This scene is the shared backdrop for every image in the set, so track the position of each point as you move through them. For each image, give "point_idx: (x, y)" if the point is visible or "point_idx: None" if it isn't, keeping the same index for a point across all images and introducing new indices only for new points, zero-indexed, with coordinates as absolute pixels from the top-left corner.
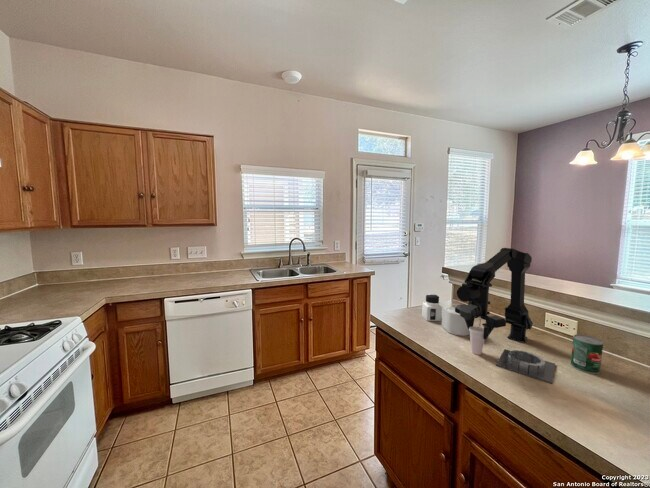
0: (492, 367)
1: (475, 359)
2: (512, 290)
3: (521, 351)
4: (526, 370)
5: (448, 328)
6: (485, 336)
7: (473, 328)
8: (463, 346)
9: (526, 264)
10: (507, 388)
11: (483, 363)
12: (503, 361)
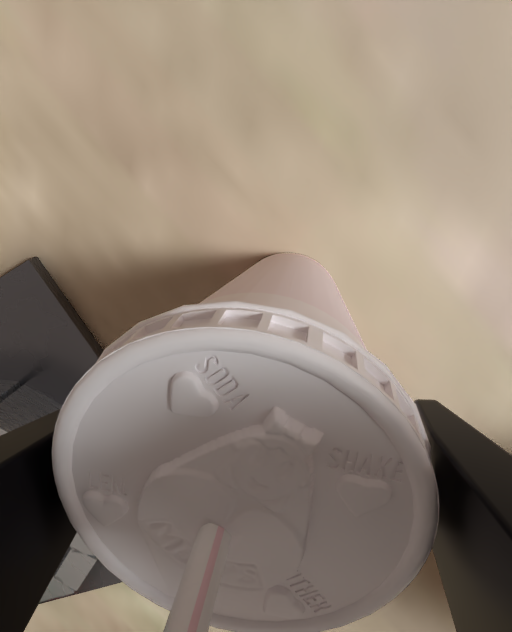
0: (12, 197)
1: (168, 159)
2: None
3: (70, 574)
4: None
5: None
6: (43, 421)
7: (292, 460)
8: (452, 280)
9: None
10: None
11: (85, 174)
12: (64, 365)
